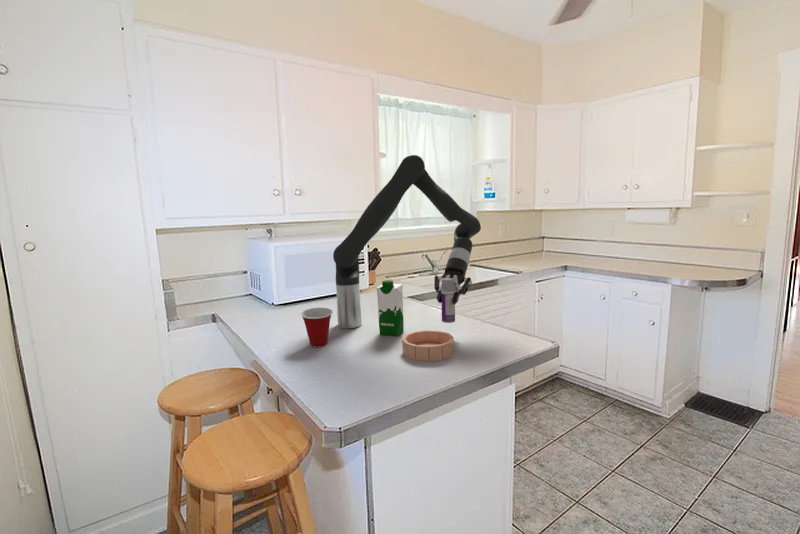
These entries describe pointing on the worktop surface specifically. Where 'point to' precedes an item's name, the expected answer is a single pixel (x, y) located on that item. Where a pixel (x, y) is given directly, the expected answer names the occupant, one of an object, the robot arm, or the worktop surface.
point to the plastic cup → (317, 325)
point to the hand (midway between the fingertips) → (446, 302)
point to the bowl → (428, 345)
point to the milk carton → (390, 308)
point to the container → (448, 300)
